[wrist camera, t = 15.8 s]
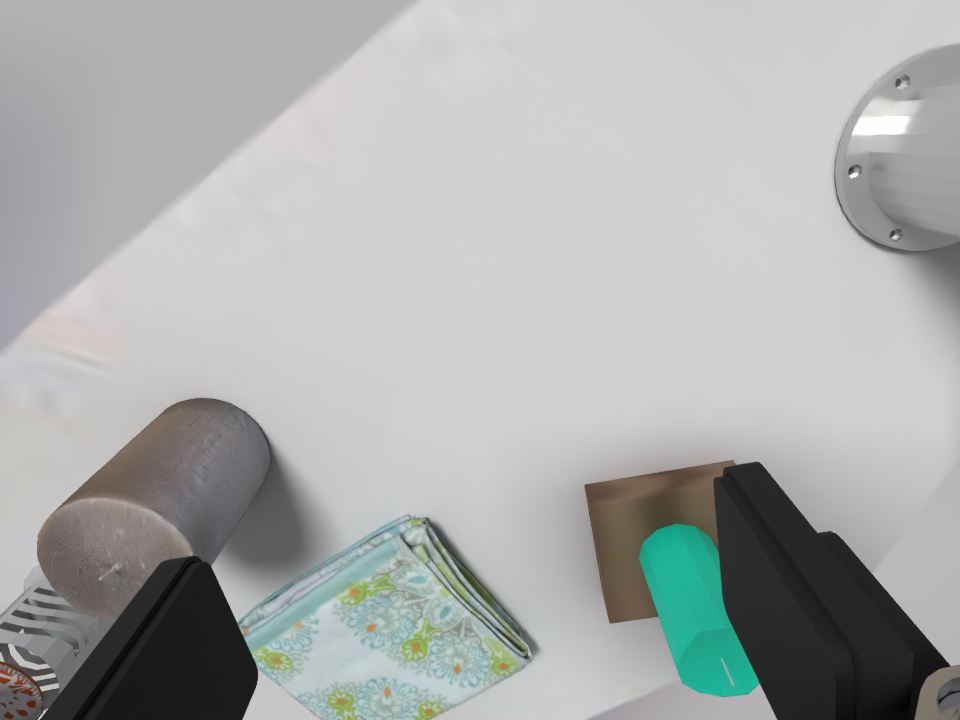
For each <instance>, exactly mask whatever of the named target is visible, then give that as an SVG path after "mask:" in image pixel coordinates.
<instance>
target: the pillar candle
mask: <svg viewBox="0 0 960 720" xmlns="http://www.w3.org/2000/svg"><path fill="white" fill-rule="evenodd" d="M270 464H271V454H270V450H269V447H268V444H267V441H266V439H265V437H264V435H263V433H262V431H261V429H260V427H259V426H258V424H257V423H256V422H255V421H254V420H253V419H252V418H251V417H250V416H249V415H248V414H247V413H245V412H244V411H243V410H241V409H239V408H237V407H235V406H234V405H232V404H230V403H227V402H224V401H220V400H216V399H207V398H195V399H189V400H185V401H181V402H178V403H176V404H174V405H172V406H170V407H169V408H167V409H166V410H165V411H164V412H163V413H162V414H160V415H159V416H158V417H157V418H156V419H155V420H154V421H152V422H151V423H150V424H149V425H148V426H147V427H146V428H144V429H143V430H142V431H141V432H140V433H139V434H138V435H137V436H136V437H135V438H133V439H132V440H131V441H130V442H129V443H128V444H127V445H126V446H125V447H124V448H122V449H121V450H120V451H119V452H118V453H117V454H116V455H115V456H114V457H113V458H112V459H111V460H110V461H109V462H107V463H106V464H105V465H104V466H103V467H102V468H101V469H100V470H98V471H97V472H96V473H95V474H94V475H93V476H92V477H91V478H90V479H89V480H88V481H86V482H85V483H84V484H83V485H82V486H81V487H80V488H79V489H78V490H77V491H76V492H75V493H73V494H72V495H71V496H70V497H69V498H68V499H67V500H66V501H65V502H64V503H63V504H62V505H61V506H59V507H58V508H57V509H56V510H55V511H54V512H53V513H52V514H51V515H50V517H49V518H48V519H47V520H46V521H45V523H44V524H43V526H42V528H41V530H40V532H39V533H38V541H37V556H38V561H39V563H40V567H41V569H42V572H43V573H44V575H45V577H46V578H47V579H48V582H49V583H50V585H51V586H52V588H53V589H54V590H55V591H56V592H57V593H58V594H60V595H61V596H62V598H64V599H65V600H66V601H67V602H68V603H69V604H71V605H72V606H74V607H75V608H77V609H78V610H80V611H82V612H83V613H85V614H88V615H90V616H92V617H94V618H98V619H100V620H104V621H108V622H112V623H114V622H115V621H116V620H117V619H118V617H119V616H120V615H121V613H122V612H123V611H124V609H125V608H126V607H127V605H128V604H129V603H130V602H131V600H132V599H133V598H134V596H135V595H136V594H137V592H138V591H139V590H140V589H141V587H142V586H143V585H144V583H145V582H146V581H147V579H148V578H149V577H150V575H151V574H152V573H153V572H154V570H155V569H156V568H157V566H158V565H159V564H160V563H161V562H163V561H165V560H169V559H175V558H181V557H187V556H198V557H199V558H200V559H201V560H202V561H203V562H207V563H208V564H210V566H212V564H213V563H214V561H215V560H216V558H217V556H218V555H219V553H220V552H221V550H222V548H223V547H224V545H225V544H226V542H227V540H228V539H229V537H230V536H231V534H232V532H233V531H234V529H235V528H236V526H237V525H238V523H239V521H240V520H241V518H242V516H243V515H244V513H245V512H246V510H247V508H248V507H249V505H250V504H251V502H252V500H253V498H254V497H255V495H256V493H257V492H258V490H259V489H260V487H261V486H262V484H263V482H264V480H265V478H266V476H267V474H268V472H269V469H270Z"/></svg>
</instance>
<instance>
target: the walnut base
mask: <svg viewBox="0 0 960 720" xmlns="http://www.w3.org/2000/svg"><path fill="white" fill-rule="evenodd" d="M734 465H736V464H735V463H734V462H733V460H732V461H726V462H720V463H714V464H708V465H702V466H696V467H690V468H683V469H677V470H671V471H665V472H659V473H653V474H647V475H641V476H635V477H629V478H623V479H617V480H611V481H605V482H599V483H593V484H587V485H585V491H586V497H587V503H588V509H589V515H590V521H591V526H592V532H593V538H594V544H595V550H596V556H597V562H598V568H599V573H600V579H601V585H602V591H603V597H604V601H605V605H606V610H607V614H608V618H609V622H610V623H617V622H624V621H631V620H638V619H645V618H652V617H659V616H658V613H657V610H656V607H655V604H654V601H653V598H652V595H651V592H650V589H649V586H648V584H647V581H646V578H645V575H644V572H643V569H642V566H641V563H640V560H639V556H640V552H641V549H642V545H643V542H644V541H645V540H647V539H648V538H649V537H650V536H651V535H652V534H653V533H654V532H655V531H656V530H658V529H661V528H665V527H668V526H671V525H674V524H681V525H690V526H696V527H697V528H699V529H700V530H701V531H703V532H704V533H706V534H707V535H708V536H710V538H711V540H712V542H713V544H714V545H715V547H716V549H717V551H718V553H719V548H718V536H717V523H716V511H715V498H714V486H713V481H714V478H715V477H720V476H723V469H724V468H725V467H728V466H734Z"/></svg>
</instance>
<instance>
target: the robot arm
mask: <svg viewBox="0 0 960 720" xmlns="http://www.w3.org/2000/svg"><path fill="white" fill-rule="evenodd" d="M896 81H897V85H896V86H895V83H896ZM849 168H851V171H850V173H849V174H848V171H849ZM835 181H836V188H837V195H838V198H839V201H840V203H841V206H842V209H843V211H844V213H845V214H846V216H847V217H848V219H849V220H850V222H851V223H852V224H853V225H854V226H855V227H856V228H857V229H858V230H859V231H860V232H861V233H862V234H863V235H865V236H867V237H868V238H870V239H872V240H874V241H876V242H877V243H880V244H883V245H886V246H889V247H892V248H898V249H903V250H908V251H925V250H932V249H938V248H943V247H947V246H950V245H952V244H955V243H958V242H960V44H954V45H948V46H944V47H939V48H935V49H931V50H928V51H926V52H924V53H921V54H919V55H916V56H914V57H912V58H910V59H908V60H906V61H905V62H903V63H902V64H900V65H899V66H897V67H895V68H894V69H892V70H891V71H890V72H889V73H887V74H886V75H885V76H884V77H883V78H882V79H881V80H879V81H878V82H877V83H876V84H875V85H874V86H873V87H872V88H871V89H870V91H869V92H868V93H867V94H866V95H865V97H864V98H863V99H862V100H861V101H860V103H859V104H858V106H857V108H856V109H855V111H854V112H853V114H852V116H851V117H850V119H849V121H848V123H847V125H846V128H845V130H844V132H843V135H842V137H841V140H840V144H839V148H838V152H837V157H836V167H835ZM890 233H891V234H890ZM713 486H714V498H715V511H716V523H717V536H718V548H719V560H720V573H721V585H722V597H723V602H724V607H725V610H726V613H727V616H728V618H729V621H730V623H731V625H732V627H733V629H734V631H735V633H736V635H737V637H738V639H739V641H740V643H741V645H742V648H743V650H744V652H745V654H746V656H747V658H748V660H749V662H750V664H751V666H752V668H753V670H754V672H755V674H756V676H757V678H758V681H759V683H760V684H761V687H762V689H763V691H764V693H765V695H766V697H767V699H768V701H769V703H770V705H771V707H772V709H773V711H774V714H775V716H776V718H777V720H960V665H956V666H950V665H949V663H948V662H946V660H945V659H944V658H943V656H942V655H941V654H940V653H939V652H938V651H937V650H936V648H935V647H934V646H933V645H932V644H931V642H930V641H929V640H928V639H927V638H926V637H925V635H924V634H923V633H922V632H921V631H920V630H919V629H918V627H917V626H916V625H915V624H914V623H913V621H912V620H911V619H910V618H909V617H908V616H907V614H906V613H905V612H904V611H903V610H902V609H901V607H900V606H899V605H898V604H897V603H896V602H895V601H894V599H893V598H892V597H891V596H890V595H889V593H888V592H887V591H886V590H885V589H884V588H883V587H882V585H881V584H880V583H879V582H878V581H877V579H876V578H875V577H874V576H873V575H872V574H871V572H870V571H869V570H868V569H867V568H866V566H865V565H864V564H863V563H862V562H861V561H860V559H859V558H858V557H857V556H856V555H855V554H854V552H853V551H852V550H851V549H850V548H849V547H848V545H847V544H846V543H845V542H844V541H843V540H842V539H841V538H840V537H839V536H838V535H837V534H836V533H833V532H831V531H828V532H822V533H817V532H816V531H815V530H814V528H813V527H812V526H811V525H810V524H809V522H808V521H807V520H806V519H805V517H804V516H803V515H802V514H801V512H800V511H799V510H798V509H797V507H796V506H795V505H794V504H793V502H792V501H791V500H790V499H789V497H788V496H787V495H786V494H785V493H784V491H783V490H782V489H781V488H780V486H779V485H778V484H777V483H776V481H775V480H774V479H773V478H772V476H771V475H770V474H769V473H768V471H767V470H766V469H765V468H764V467H763V465H762V464H761V463H759V462H752V463H746V464H740V465H734V466H728V467H725V468H724V469H723V476H720V477H715V478H714V481H713ZM257 680H258V669H257V665H256V663H255V661H254V658H253V656H252V654H251V652H250V650H249V648H248V645H247V643H246V641H245V639H244V637H243V635H242V632H241V630H240V628H239V626H238V624H237V622H236V619H235V617H234V615H233V613H232V611H231V609H230V606H229V604H228V602H227V600H226V598H225V596H224V593H223V591H222V589H221V587H220V585H219V583H218V580H217V578H216V576H215V574H214V572H213V570H212V568H211V566H210V564H208V563H207V562H203V561H202V560H201V559H200V558H199V557H198V556H187V557H181V558H175V559H169V560H165V561H163V562H161V563H160V564H159V565H158V566H157V568H156V569H155V570H154V572H153V573H152V574H151V575H150V577H149V578H148V579H147V581H146V582H145V583H144V585H143V586H142V587H141V589H140V590H139V591H138V592H137V594H136V595H135V596H134V598H133V599H132V600H131V602H130V603H129V604H128V605H127V607H126V608H125V609H124V611H123V612H122V613H121V615H120V616H119V617H118V619H117V620H116V621H115V622H114V624H113V625H112V626H111V628H110V629H109V630H108V632H107V633H106V634H105V636H104V637H103V638H102V639H101V641H100V642H99V643H98V645H97V646H96V647H95V649H94V650H93V651H92V653H91V654H90V655H89V656H88V658H87V659H86V660H85V662H84V663H83V664H82V666H81V667H80V668H79V669H78V671H77V672H76V673H75V675H74V676H73V677H72V679H71V680H70V681H69V683H68V684H67V685H66V686H65V688H64V689H63V690H62V692H61V693H60V694H59V696H58V697H57V698H56V700H55V701H54V702H53V703H52V705H51V706H50V707H49V709H48V710H47V711H46V713H45V714H44V715H43V717H42V718H41V719H40V720H242V719H243V717H244V714H245V712H246V710H247V707H248V705H249V702H250V700H251V698H252V695H253V693H254V691H255V688H256V685H257Z"/></svg>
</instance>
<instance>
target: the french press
mask: <svg viewBox="0 0 960 720" xmlns="http://www.w3.org/2000/svg"><path fill="white" fill-rule="evenodd" d="M113 624H114V623H112V622H108V621H104V620H100V619H98V618H94V617H92V616H90V615H88V614H85V613H83V612H82V611H80V610H78V609H77V608H75V607H74V606H72V605H71V604H69V603H68V602H67V601H66V600H65V599H64V598H62V596H61V595H60V594H58V593H57V592H56V591H55V590H54V589H53V588H52V586H51V585H50V583H49V582H48V579H47V578H46V577H45V575H44V573H43V572H42V569H41V567H40V565H39V566H37V567H35V568H33V570H32V571H31V572H30V574H29V575H28V577H27V578H26V579H25V581H24V592H23V593H22V594H21V595H20V596H19V597H18V598H17V599H16V600H15V601H14V602H13V603H12V604H11V605H10V606H9V607H8V608H7V609H6V610H5V611H4V612H3V613H2V614H1V615H0V652H1V653H2V656H3V659H4V662H5V663H4V662H0V720H37V719H38V718H39V717H40V715H41V714H42V713H43V710H46V709H47V708H49V707H50V706H51V705H52V703H53V702H54V701H55V700H56V698H57V697H58V696H59V694H60V693H61V692H62V690H63V689H64V688H65V686H66V685H67V684H68V683H69V681H70V680H71V679H72V677H73V676H74V675H75V673H76V672H77V671H78V669H79V668H80V667H81V666H82V664H83V663H84V662H85V660H86V659H87V658H88V656H89V655H90V654H91V653H92V651H93V650H94V649H95V647H96V646H97V645H98V643H99V642H100V641H101V639H102V638H103V637H104V636H105V634H106V633H107V632H108V630H109V629H110V628H111V626H112V625H113ZM22 629H24V633H25V634H23V633H19V632H20V631H21V630H22ZM8 644H12V645H14V646H15V649H16V650H17V652H18V653H19V654H20V655H21V656H22V658H23V659H24V660H25V661H29V662H32V663H35V664H39V665H40V664H48V665H49V666H50V667H51V668H46V669H40V670H34V669H30V668H26V667H22V666H19V664H18V663H17V662H16V661H15V660H14V658H13V657H12V656H11V654H10V651H9V647H8ZM78 648H79V650H80V652H79V653H74V649H78ZM29 651H30V652H32V653H34V654H35V655H33V654H30V653H29ZM36 655H37V656H36ZM51 673H55V675H56V677H55V678H50V679H45V680H39V681H35V680H34V679H33V678H32V676H41V675H46V674H51ZM55 683H59V687H60V688H57V689H52V690H47V691H41V689H40V686H45V685H50V684H55Z"/></svg>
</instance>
